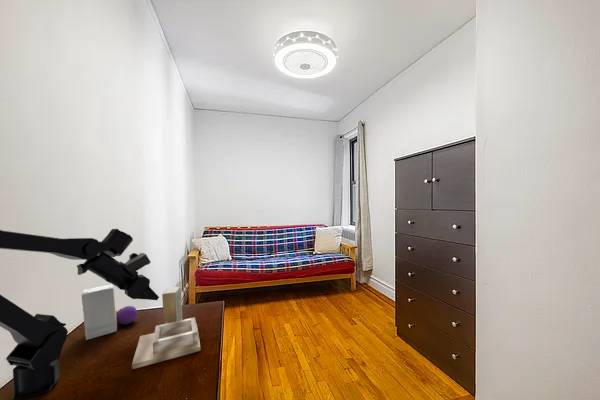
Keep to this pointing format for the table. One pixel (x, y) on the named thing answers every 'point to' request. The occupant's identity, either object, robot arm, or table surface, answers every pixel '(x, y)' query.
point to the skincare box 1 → (99, 311)
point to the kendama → (126, 315)
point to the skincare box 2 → (172, 305)
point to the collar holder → (167, 343)
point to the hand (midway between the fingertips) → (153, 295)
